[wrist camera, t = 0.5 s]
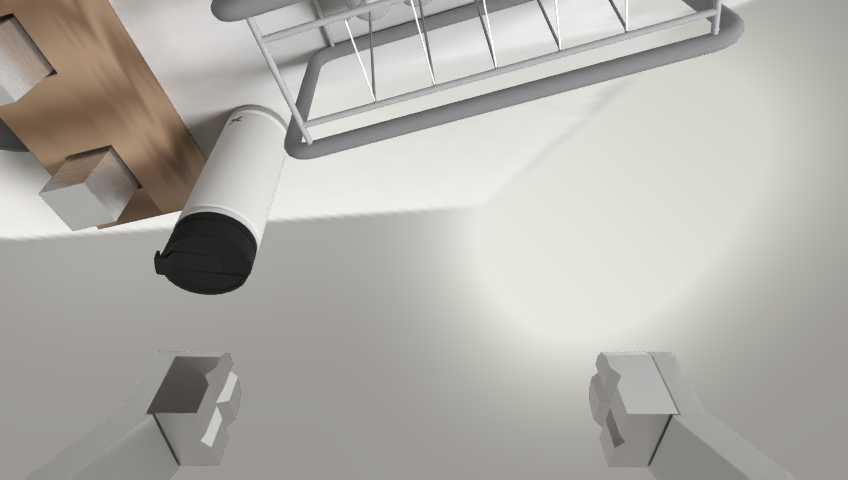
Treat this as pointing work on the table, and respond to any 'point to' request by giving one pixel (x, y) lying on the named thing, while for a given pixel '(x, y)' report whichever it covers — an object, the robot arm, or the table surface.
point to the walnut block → (102, 104)
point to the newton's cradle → (373, 3)
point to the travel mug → (227, 206)
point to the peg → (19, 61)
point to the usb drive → (10, 139)
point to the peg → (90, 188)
